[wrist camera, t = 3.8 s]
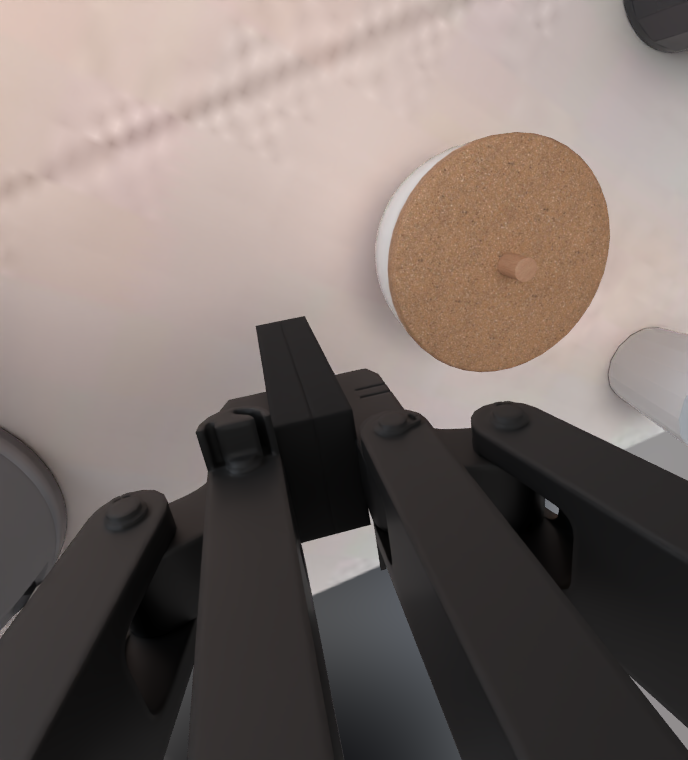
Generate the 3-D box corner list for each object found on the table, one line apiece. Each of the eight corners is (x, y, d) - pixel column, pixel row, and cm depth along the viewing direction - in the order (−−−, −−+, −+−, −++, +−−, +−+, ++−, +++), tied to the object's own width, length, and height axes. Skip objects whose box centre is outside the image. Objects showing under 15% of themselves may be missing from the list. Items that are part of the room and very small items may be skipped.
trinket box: (554, 233, 31) (678, 256, 22) (435, 360, 32) (509, 427, 24) (446, 96, 26) (548, 60, 18) (314, 251, 28) (352, 284, 20)
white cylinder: (688, 308, 35) (788, 337, 29) (679, 392, 38) (770, 436, 32) (601, 333, 34) (685, 368, 28) (599, 417, 37) (675, 467, 31)
